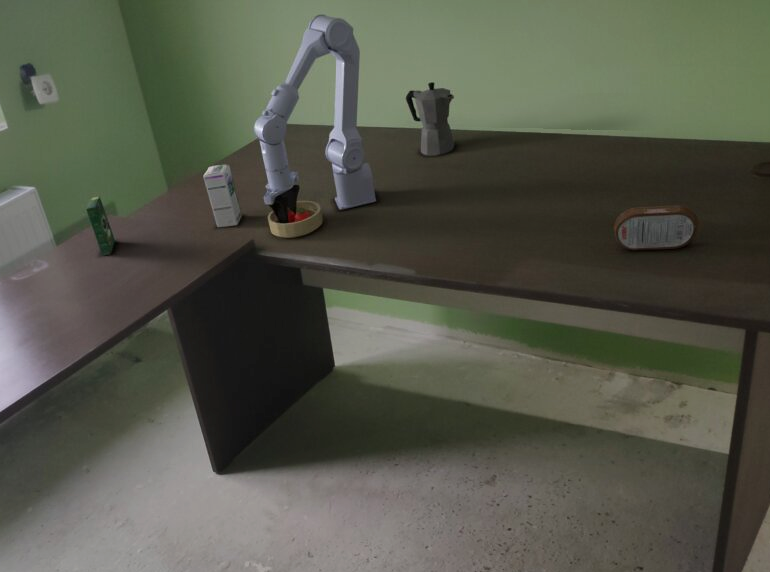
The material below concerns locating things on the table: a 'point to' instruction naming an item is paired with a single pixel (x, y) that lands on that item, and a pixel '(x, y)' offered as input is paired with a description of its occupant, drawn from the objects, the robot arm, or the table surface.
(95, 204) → the coffee box
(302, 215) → the strawberry
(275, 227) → the bowl
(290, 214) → the strawberry
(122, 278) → the table surface
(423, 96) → the coffeepot
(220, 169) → the white carton
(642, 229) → the tin
